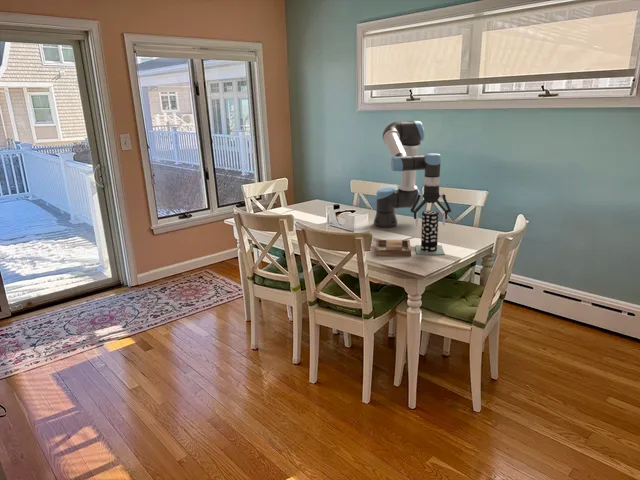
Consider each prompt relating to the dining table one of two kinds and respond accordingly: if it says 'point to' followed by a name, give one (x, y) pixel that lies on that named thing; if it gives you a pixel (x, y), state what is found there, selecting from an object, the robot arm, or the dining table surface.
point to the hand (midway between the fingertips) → (430, 225)
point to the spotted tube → (429, 231)
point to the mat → (421, 252)
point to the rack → (393, 252)
